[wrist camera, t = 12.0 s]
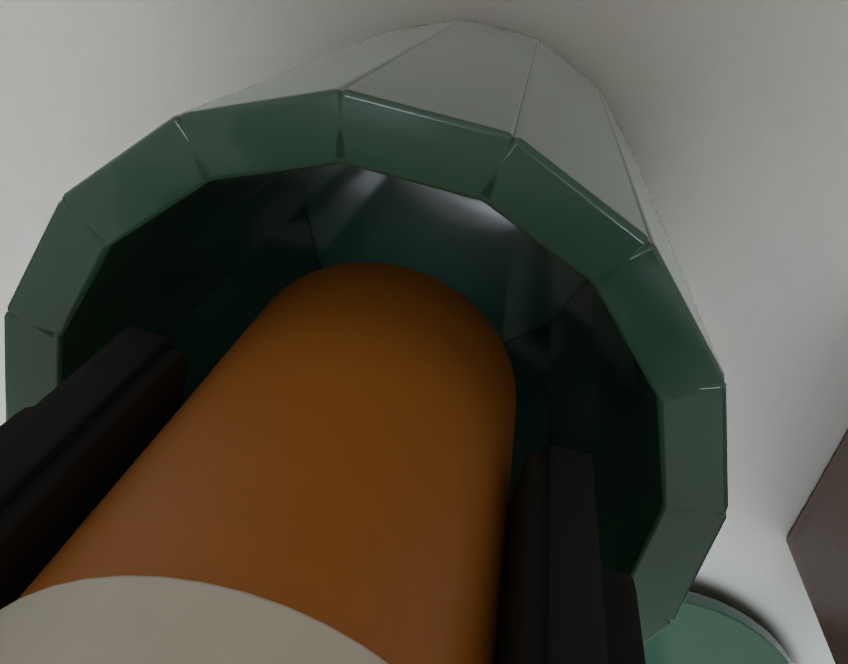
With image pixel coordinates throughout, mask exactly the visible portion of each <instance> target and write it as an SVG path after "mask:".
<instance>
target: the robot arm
mask: <svg viewBox="0 0 848 664" xmlns="http://www.w3.org/2000/svg"><path fill="white" fill-rule="evenodd" d="M186 369H187V358H186V355H185V354H184V353H180V352H177V351H176V345H175V341H174V340H173V339H172V338H168V337H164V336H161V335H157V334H154V333H150V332H147V331H143V330H139V329H136V328H130V327H129V328H127V329H125V330H123V331H122V332H121V333H120V334H119V335H118V336H116V337H115V338H114V339H113V340H112V341H110V342H109V343H108V344H107V345H106V346H105V347H103V348H102V349H101V350H100V351H99V352H97V353H96V354H95V355H94V356H93V357H91V358H90V359H89V360H88V361H87V362H86V363H84V364H83V365H82V366H81V367H80V368H78V369H77V370H76V371H75V372H74V373H73V374H71V375H70V376H69V377H68V378H67V379H65V380H64V381H63V382H62V383H61V384H60V385H58V386H57V387H56V388H55V389H54V390H52V391H51V392H50V393H49V394H48V395H46V396H45V397H44V398H43V399H42V400H41V401H39V402H38V403H37V404H36V405H35V406H31V407H26V408H24V409H22V410H21V411H19V412H17V413H16V414H15V415H13V416H12V417H11V418H10V419H9V420H7V421H6V422H5V423H4V424H3V425H1V426H0V610H1V609H2V608H4V607H6V606H8V605H9V604H11V603H13V602H15V601H16V600H17V599H18V598H19V597H20V596H21V595H22V593H23V592H24V591H25V590H26V589H27V588H28V586H29V585H30V584H31V583H32V582H33V581H34V579H35V578H36V577H37V576H38V575H39V573H40V572H41V571H42V570H43V569H44V568H45V566H46V565H47V564H48V563H49V562H50V560H51V559H52V558H53V557H54V556H55V555H56V553H57V552H58V551H59V550H60V549H61V548H62V546H63V545H64V544H65V543H66V542H67V540H68V539H69V538H70V537H71V536H72V535H73V533H74V532H75V531H76V530H77V529H78V527H79V526H80V525H81V524H82V523H83V522H84V520H85V519H86V518H87V517H88V516H89V514H90V513H91V512H92V511H93V510H94V509H95V507H96V506H97V505H98V504H99V503H100V502H101V500H102V499H103V498H104V497H105V496H106V494H107V493H108V492H109V491H110V490H111V489H112V487H113V486H114V485H115V484H116V483H117V481H118V480H119V479H120V478H121V477H122V476H123V474H124V473H125V472H126V471H127V470H128V469H129V467H130V466H131V465H132V464H133V463H134V461H135V460H136V459H137V458H138V457H139V456H140V454H141V453H142V452H143V451H144V450H145V448H146V447H147V446H148V445H149V444H150V443H151V441H152V440H153V439H154V438H155V437H156V436H157V434H158V433H159V432H160V431H161V430H162V428H163V427H164V426H165V425H166V424H167V423H168V421H169V420H170V419H171V418H172V417H173V415H174V414H175V413H176V412H177V411H178V410H179V408H180V407H181V406H182V405H183V397H184V388H185V379H186ZM494 664H646V661H645V653H644V646H643V638H642V630H641V623H640V615H639V607H638V600H637V592H636V587H635V583H634V580H633V578H632V577H631V576H630V575H628V574H624V573H621V572H617V571H614V570H610V569H607V568H603V567H601V562H600V549H599V536H598V523H597V510H596V497H595V483H594V470H593V460H592V456H590V455H588V454H584V453H581V452H577V451H573V450H570V449H566V448H563V447H559V446H556V445H552V444H548V445H547V446H546V448H545V450H544V452H543V454H542V453H538V452H535V451H531V450H530V451H529V452H528V454H527V456H526V458H525V461H524V464H523V467H522V469H521V472H520V475H519V478H518V481H517V484H516V487H515V489H514V492H513V495H512V498H511V501H510V504H509V507H508V509H507V520H506V532H505V543H504V555H503V567H502V578H501V590H500V602H499V614H498V625H497V637H496V649H495V661H494Z"/></svg>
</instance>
